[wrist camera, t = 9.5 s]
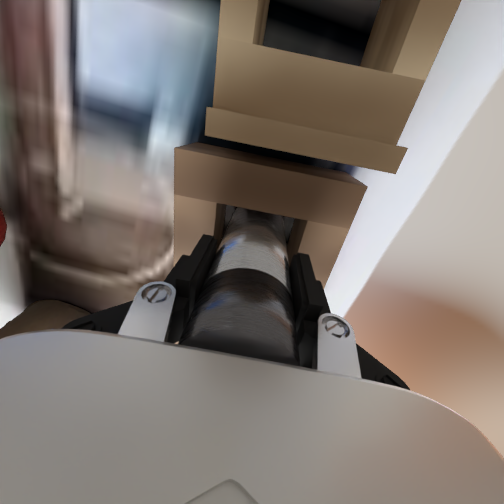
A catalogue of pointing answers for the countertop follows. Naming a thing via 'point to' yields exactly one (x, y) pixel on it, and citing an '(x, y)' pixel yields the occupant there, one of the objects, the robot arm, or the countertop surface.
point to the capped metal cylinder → (247, 294)
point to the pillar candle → (42, 317)
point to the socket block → (263, 200)
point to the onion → (2, 227)
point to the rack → (325, 85)
